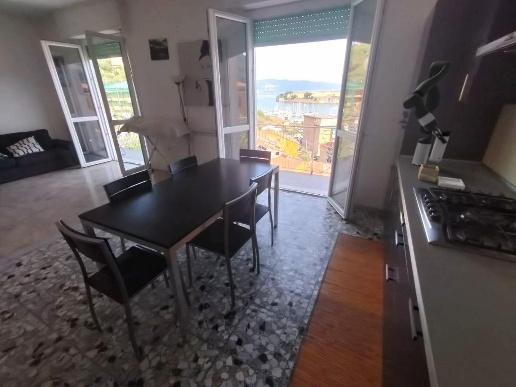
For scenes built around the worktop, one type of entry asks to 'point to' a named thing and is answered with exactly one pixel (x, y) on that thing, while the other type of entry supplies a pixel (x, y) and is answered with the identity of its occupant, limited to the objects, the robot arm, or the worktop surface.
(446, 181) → the tray
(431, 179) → the holder
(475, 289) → the worktop surface
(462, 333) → the worktop surface
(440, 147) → the travel mug
